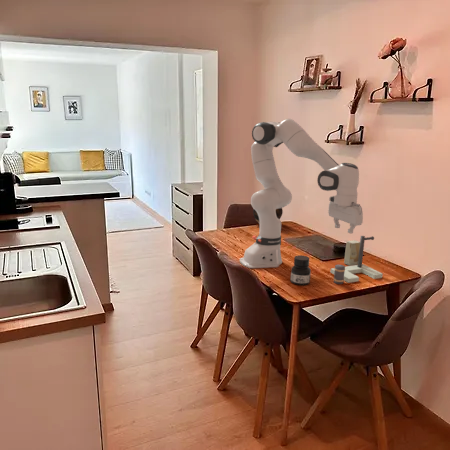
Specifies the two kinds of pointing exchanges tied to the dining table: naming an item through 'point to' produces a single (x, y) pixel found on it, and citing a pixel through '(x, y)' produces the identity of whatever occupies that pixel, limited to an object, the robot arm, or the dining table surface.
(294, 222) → the dining table surface
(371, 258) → the dining table surface
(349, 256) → the skincare box
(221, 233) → the dining table surface
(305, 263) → the ink bottle
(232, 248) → the dining table surface
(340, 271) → the grey banded cylinder
